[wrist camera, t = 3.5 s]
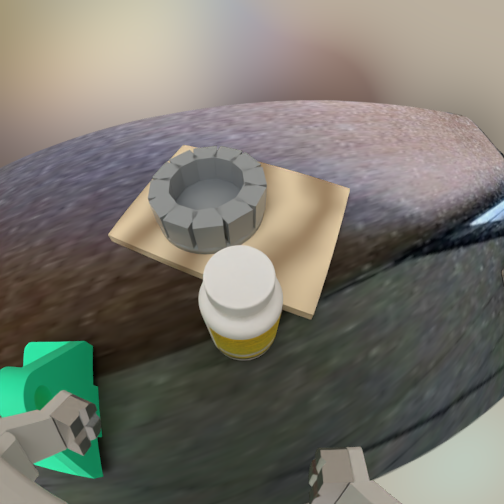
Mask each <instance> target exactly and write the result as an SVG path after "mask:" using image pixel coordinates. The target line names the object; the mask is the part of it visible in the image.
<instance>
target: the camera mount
mask: <svg viewBox="0 0 504 504" xmlns="http://www.w3.org/2000/svg"><path fill="white" fill-rule="evenodd" d="M62 390H65V391H67V392H70V393H72V394H74V395H76V396H78V397H80V398H82V399H85V400H87V401H89V402H91V403H94V404H95V405H96V408H97V411H96V414H97V415H98V416H99V418H100V410H99V395H98V386H94V385H93V346H92V345H90V344H89V343H87V342H85V341H70V342H30V343H28V344H27V345H26V347H25V350H24V361H23V367H22V368H20V367H4V368H2V369H1V370H0V415H1V416H2V418H3V417H8V416H13V415H17V414H21V413H25V412H30V411H34V410H39V411H40V410H41V409H42V408H43V407H44V406H45V405H47V404H48V403H49V402H50V401H51V400H52V399H53V398H54V397H55V396H56V395H57V394H58V393H59V392H60V391H62ZM98 437H102V431H100V434H99V435H98ZM34 464H35V465H38V466H41V467H45V468H48V469H52V470H56V471H60V472H64V473H68V474H73V475H78V476H83V477H88V478H94V479H95V478H99V477H103V473H102V467H101V461H100V454H99V447H98V439H97V438H96V439H93V440H91V447H90V448H89V449H88V451H87V452H86V454H85V455H84V456H83V455H80V454H78V453H76V452H74V451H72V450H70V449H68V448H67V449H66V450H63V451H61V452H59V453H57V454H55V455H52V456H50V457H48V458H46V459H43V460H41V461H39V462H36V463H34Z"/></svg>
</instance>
